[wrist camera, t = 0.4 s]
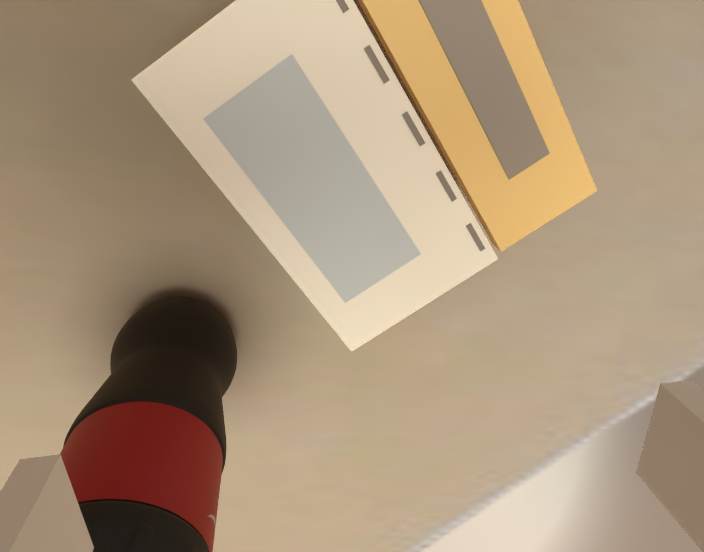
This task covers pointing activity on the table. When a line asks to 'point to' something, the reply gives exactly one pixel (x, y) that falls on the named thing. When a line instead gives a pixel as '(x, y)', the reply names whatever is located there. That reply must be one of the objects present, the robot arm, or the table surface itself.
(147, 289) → the table surface
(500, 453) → the table surface
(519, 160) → the tan flat board
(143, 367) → the cola bottle
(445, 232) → the cream box
